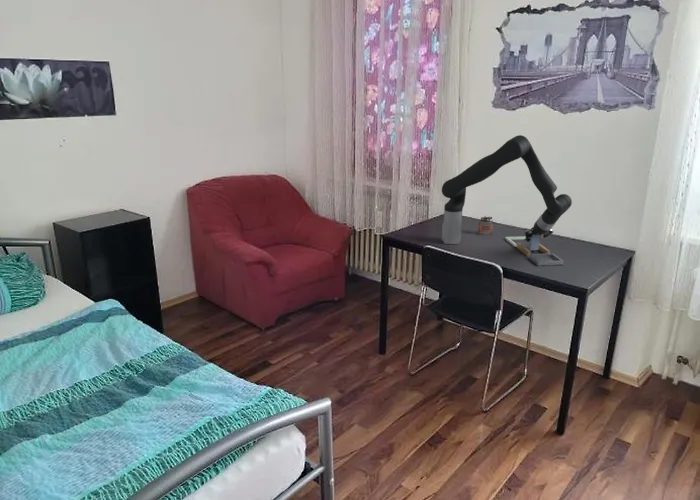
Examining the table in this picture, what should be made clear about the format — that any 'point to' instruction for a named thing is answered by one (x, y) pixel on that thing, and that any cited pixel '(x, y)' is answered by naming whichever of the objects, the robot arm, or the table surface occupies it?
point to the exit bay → (514, 239)
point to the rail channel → (527, 251)
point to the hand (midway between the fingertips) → (531, 239)
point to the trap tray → (546, 259)
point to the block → (534, 243)
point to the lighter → (485, 226)
